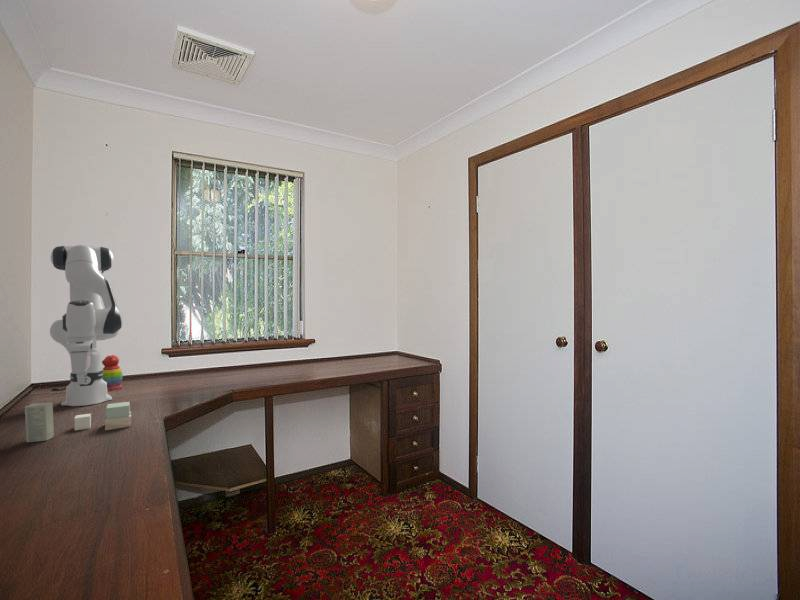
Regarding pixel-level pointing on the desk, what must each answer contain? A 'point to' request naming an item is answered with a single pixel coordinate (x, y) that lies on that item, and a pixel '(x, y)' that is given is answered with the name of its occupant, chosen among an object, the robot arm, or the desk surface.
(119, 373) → the stacking bear
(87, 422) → the cream block
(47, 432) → the skincare box
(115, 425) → the tower base
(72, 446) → the desk surface
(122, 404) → the green tower middle block
